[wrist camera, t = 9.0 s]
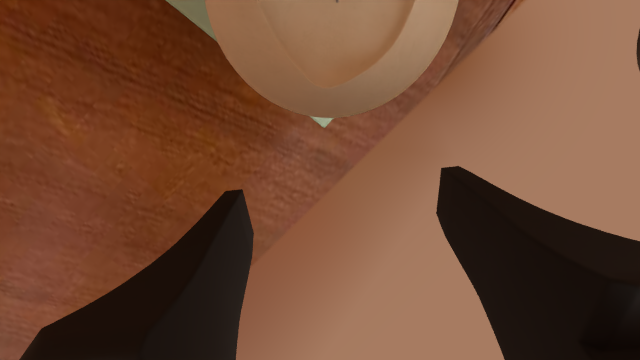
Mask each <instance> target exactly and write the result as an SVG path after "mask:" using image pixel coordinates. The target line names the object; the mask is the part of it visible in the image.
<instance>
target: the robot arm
mask: <svg viewBox="0 0 640 360" xmlns="http://www.w3.org/2000/svg"><path fill="white" fill-rule="evenodd" d="M436 214H437V216H438V218H439V222H440V224H441V227H442V229H443V232H444V234H445V236H446V238H447V240H448V242H449V244H450V246H451V248H452V249H453V251H454V253H455V255H456V256H457V258H458V260H459V262H460V264H461V265H462V267H463V269H464V270H465V272H466V274H467V276H468V277H469V279H470V281H471V283H472V285H473V286H474V288H475V290H476V292H477V294H478V296H479V298H480V300H481V303H482V305H483V307H484V310H485V312H486V314H487V317H488V319H489V321H490V324H491V326H492V329H493V331H494V334H495V336H496V338H497V341H498V343H499V346H500V348H501V351H502V354H503V356H504V359H505V360H640V241H636V240H632V239H628V238H624V237H621V236H617V235H614V234H610V233H606V232H604V231H601V230H597V229H594V228H591V227H588V226H585V225H582V224H579V223H576V222H573V221H571V220H568V219H565V218H563V217H560V216H558V215H555V214H553V213H550V212H548V211H545V210H543V209H540V208H538V207H536V206H534V205H532V204H530V203H528V202H526V201H523V200H521V199H519V198H517V197H515V196H514V195H512V194H509V193H508V192H506V191H504V190H502V189H500V188H498V187H496V186H494V185H493V184H491V183H489V182H487V181H486V180H484V179H482V178H480V177H478V176H476V175H475V174H473V173H471V172H469V171H467V170H465V169H463V168H461V167H459V166H456V167H447V168H441V177H440V186H439V195H438V203H437V212H436ZM253 234H254V233H253V229H252V225H251V221H250V217H249V213H248V209H247V205H246V201H245V197H244V194H243V190H242V189H241V190H232V191H225V192H224V193H223V194H222V196H221V197H220V198H219V199H218V200H217V201H216V202H215V203H214V204H213V206H212V207H211V208H210V209H209V210H208V211H207V212H206V213H205V214H204V215H203V217H202V218H201V219H200V220H199V221H198V222H197V223H196V224H195V225H194V226H193V227H192V228H191V229H190V230H189V231H188V232H187V233H186V234H185V235H184V236H183V237H182V238H181V239H180V240H179V241H178V242H177V243H176V244H174V245H173V246H172V247H171V248H170V249H169V250H168V251H166V252H165V253H164V254H163V255H161V256H160V257H159V258H158V259H157V260H155V261H154V262H153V263H151V264H150V265H149V266H147V267H146V268H145V269H143V270H142V271H140V272H139V273H137V274H136V275H135V276H133V277H132V278H130V279H129V280H127V281H126V282H125V283H123V284H122V285H120V286H118V287H117V288H115V289H114V290H112V291H110V292H109V293H107V294H106V295H104V296H102V297H100V298H99V299H97V300H95V301H94V302H92V303H90V304H88V305H86V306H85V307H83V308H81V309H79V310H77V311H75V312H73V313H71V314H69V315H67V316H65V317H63V318H62V319H60V320H58V321H56V322H54V323H52V324H50V325H48V326H46V327H44V328H42V329H41V330H40V331H39V333H38V334H37V336H36V337H35V338H34V340H33V341H32V343H31V344H30V345H29V347H28V348H27V350H26V351H25V353H24V354H23V355H22V357H21V358H20V360H236V349H237V338H238V329H239V320H240V314H241V308H242V304H243V299H244V294H245V289H246V284H247V279H248V274H249V270H250V265H251V259H252V250H253Z"/></svg>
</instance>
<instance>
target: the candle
mask: <svg viewBox="0 0 640 360" xmlns="http://www.w3.org/2000/svg"><path fill="white" fill-rule="evenodd" d="M205 5H206V9H207V13H208V17H209V20H210V24H211V27H212V29H213V32H214V34H215V37H216V39H217V41H218V44H219V45H220V47H221V49H222V51H223V53H224V54H225V56H226V58H227V59H228V61H229V62H230V64H231V65H232V66H233V68H234V69H235V71H236V72H237V73H238V74H239V75H240V76H241V77H242V79H243V80H244V81H245V82H246V83H247V84H248V85H249V86H251V87H252V88H253V89H254V90H255V91H256V92H257V93H259V94H260V95H262V96H263V97H265V98H266V99H267V100H269V101H270V102H272V103H274V104H276V105H278V106H280V107H282V108H284V109H287V110H289V111H292V112H295V113H298V114H302V115H307V116H311V117H321V118H340V117H346V116H353V115H357V114H360V113H364V112H367V111H370V110H372V109H374V108H377V107H379V106H381V105H383V104H385V103H387V102H389V101H390V100H392V99H394V98H395V97H396V96H398V95H399V94H401V93H402V92H403V91H405V90H406V89H407V88H408V87H409V86H410V85H412V84H413V83H414V82H415V81H416V80H417V79H418V78H419V77H420V75H421V74H422V73H423V72H424V71H425V70H426V69H427V68H428V66H429V65H430V63H431V62H432V60H433V59H434V58H435V56H436V55H437V53H438V51H439V50H440V48H441V46H442V44H443V42H444V41H445V39H446V36H447V34H448V32H449V29H450V27H451V24H452V22H453V18H454V15H455V12H456V8H457V5H458V0H205Z"/></svg>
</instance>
